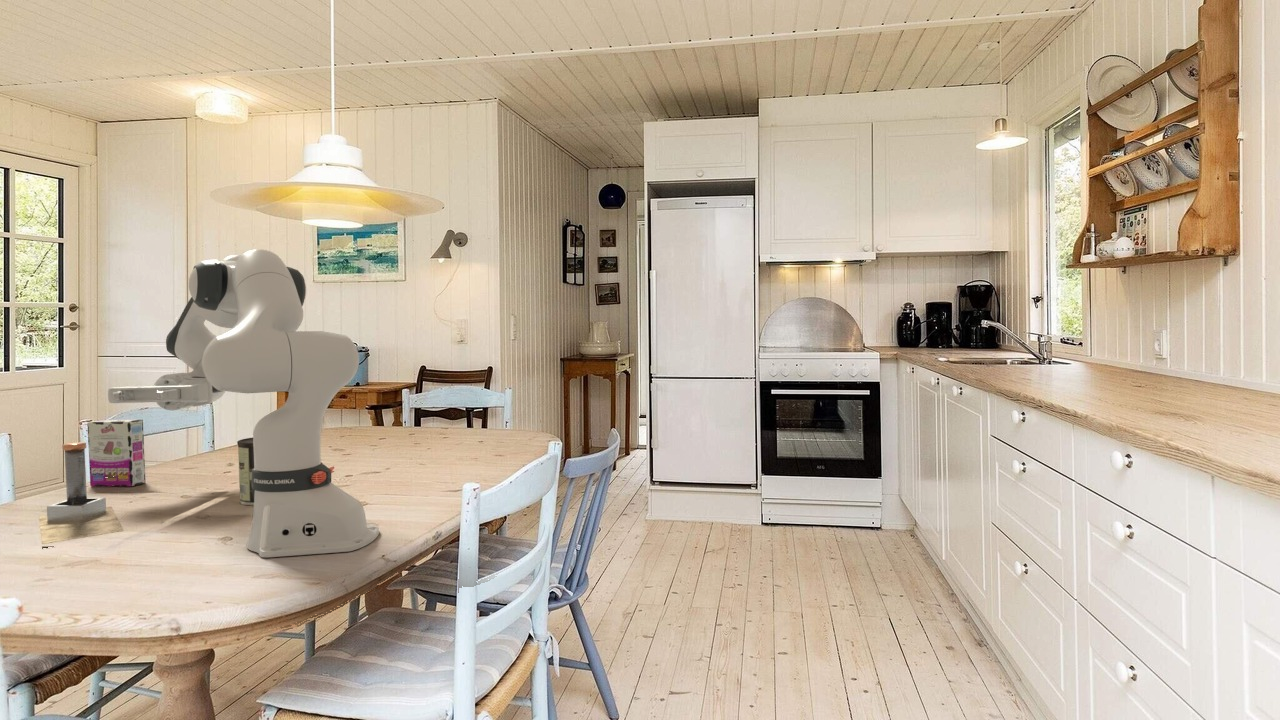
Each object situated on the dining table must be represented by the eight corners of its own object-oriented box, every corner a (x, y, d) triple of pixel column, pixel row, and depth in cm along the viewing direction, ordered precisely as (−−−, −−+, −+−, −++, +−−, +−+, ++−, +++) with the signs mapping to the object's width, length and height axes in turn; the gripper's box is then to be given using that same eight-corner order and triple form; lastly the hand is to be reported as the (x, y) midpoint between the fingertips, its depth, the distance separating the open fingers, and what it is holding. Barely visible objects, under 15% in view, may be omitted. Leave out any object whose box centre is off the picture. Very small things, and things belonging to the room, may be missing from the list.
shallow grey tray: (106, 511, 150) (105, 497, 150) (82, 520, 143) (81, 505, 143) (73, 512, 149) (72, 497, 149) (47, 521, 143) (46, 506, 143)
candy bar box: (147, 482, 181) (144, 418, 181) (132, 487, 176) (129, 421, 176) (105, 482, 182) (102, 418, 181) (89, 486, 177) (85, 421, 176)
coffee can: (299, 495, 167) (298, 436, 166) (268, 507, 157) (266, 443, 156) (261, 493, 169) (259, 435, 168) (228, 504, 159) (226, 442, 158)
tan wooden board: (124, 535, 136) (123, 530, 136) (42, 549, 128) (41, 543, 128) (111, 510, 154) (111, 506, 154) (39, 521, 146) (39, 516, 146)
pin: (94, 513, 148) (90, 442, 147) (80, 518, 144) (76, 445, 144) (75, 513, 148) (71, 442, 147) (61, 518, 144) (57, 445, 143)
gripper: (130, 379, 171) (88, 383, 157) (217, 377, 171) (183, 380, 158) (131, 405, 171) (89, 411, 157) (218, 403, 172) (184, 409, 158)
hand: (137, 396), depth 157 cm, fingers open, 8 cm apart
